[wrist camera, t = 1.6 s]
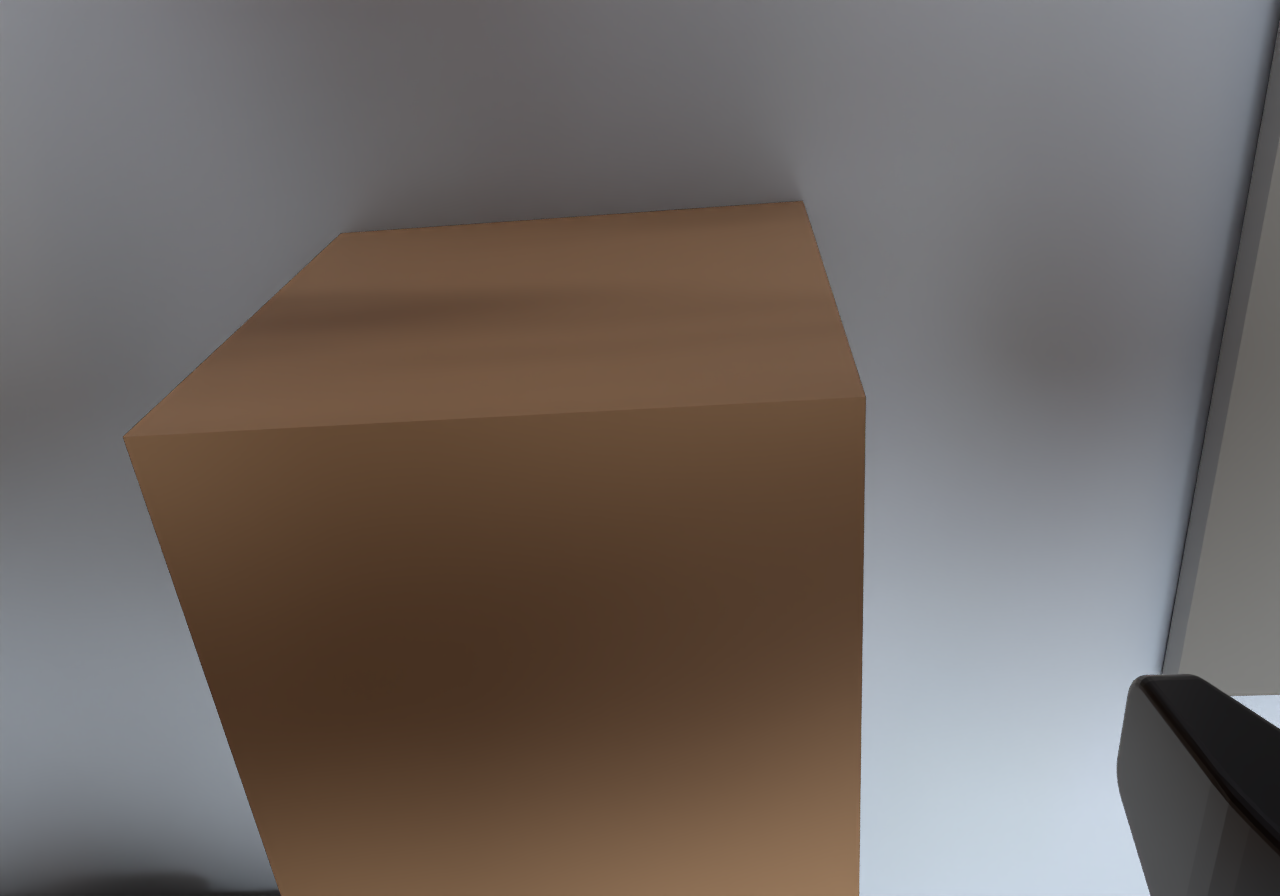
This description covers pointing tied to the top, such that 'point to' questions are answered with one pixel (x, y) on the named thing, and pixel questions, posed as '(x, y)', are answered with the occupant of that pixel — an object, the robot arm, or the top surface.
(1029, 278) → the top surface
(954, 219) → the top surface
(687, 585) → the base block
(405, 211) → the top surface
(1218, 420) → the build plate
